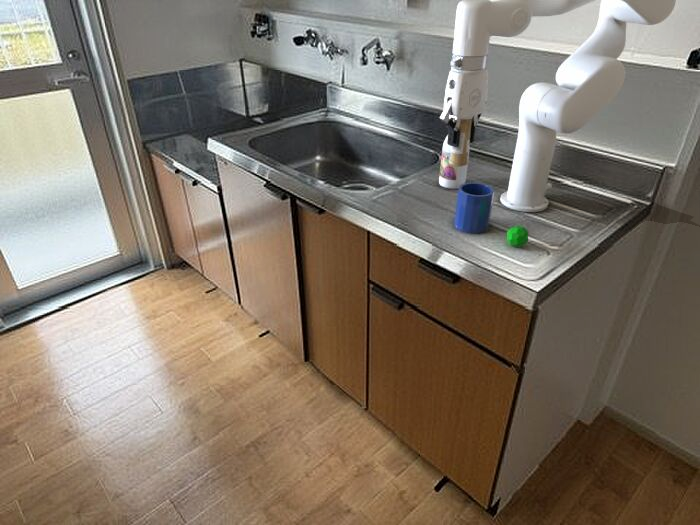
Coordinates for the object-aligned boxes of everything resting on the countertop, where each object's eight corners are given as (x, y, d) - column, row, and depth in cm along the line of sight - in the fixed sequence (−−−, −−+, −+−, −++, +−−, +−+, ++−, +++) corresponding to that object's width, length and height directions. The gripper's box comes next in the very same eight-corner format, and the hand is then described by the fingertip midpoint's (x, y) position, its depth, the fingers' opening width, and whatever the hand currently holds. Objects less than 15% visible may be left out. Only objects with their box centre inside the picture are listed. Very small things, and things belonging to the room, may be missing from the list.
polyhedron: (522, 240, 118) (526, 222, 116) (529, 250, 114) (533, 232, 112) (502, 240, 118) (505, 222, 116) (508, 250, 114) (511, 232, 112)
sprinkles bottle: (471, 164, 120) (478, 109, 113) (457, 168, 118) (463, 112, 111) (458, 159, 124) (464, 104, 116) (444, 162, 122) (449, 107, 114)
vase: (469, 215, 130) (474, 179, 124) (494, 227, 124) (501, 190, 119) (447, 224, 125) (451, 187, 120) (472, 237, 120) (478, 199, 114)
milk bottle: (456, 177, 151) (464, 112, 141) (469, 187, 145) (479, 119, 135) (434, 181, 149) (440, 114, 138) (447, 191, 143) (454, 122, 132)
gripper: (454, 70, 102) (446, 155, 111) (507, 60, 110) (495, 140, 120) (429, 65, 107) (423, 146, 117) (481, 55, 115) (472, 132, 125)
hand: (460, 142), depth 118 cm, fingers closed on sprinkles bottle, 4 cm apart
